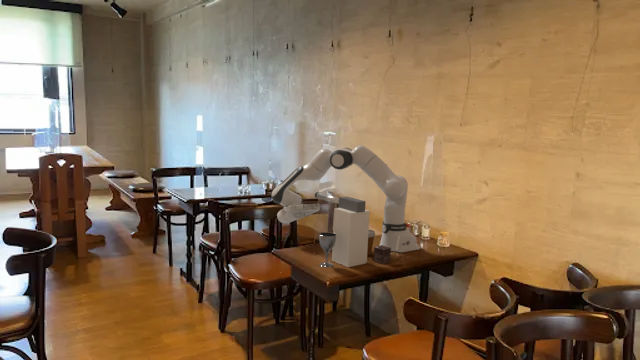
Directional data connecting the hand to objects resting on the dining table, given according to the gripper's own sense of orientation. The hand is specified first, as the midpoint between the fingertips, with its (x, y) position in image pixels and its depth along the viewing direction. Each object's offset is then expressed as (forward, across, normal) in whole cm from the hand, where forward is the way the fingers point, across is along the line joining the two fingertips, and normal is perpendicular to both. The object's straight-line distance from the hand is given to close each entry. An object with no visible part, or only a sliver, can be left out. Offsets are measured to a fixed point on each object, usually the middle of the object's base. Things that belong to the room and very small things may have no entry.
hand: (310, 205), depth 264 cm
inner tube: (+17, 0, +2) cm, 17 cm away
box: (+28, +16, +36) cm, 49 cm away
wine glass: (+19, -11, +33) cm, 40 cm away
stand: (+21, +1, +33) cm, 39 cm away
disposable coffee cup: (+15, +17, +30) cm, 38 cm away
